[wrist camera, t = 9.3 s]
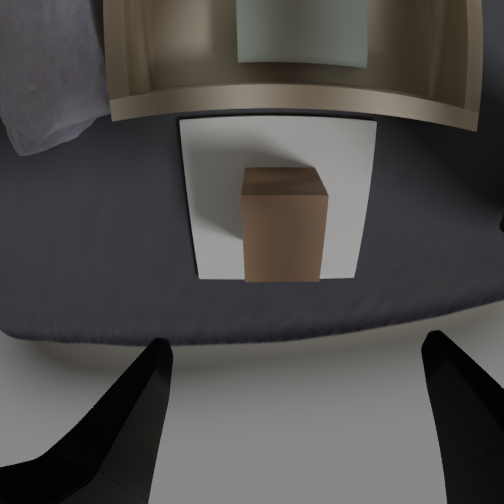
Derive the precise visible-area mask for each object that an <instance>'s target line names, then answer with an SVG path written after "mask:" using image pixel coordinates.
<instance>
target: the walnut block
mask: <svg viewBox="0 0 504 504" xmlns="http://www.w3.org/2000/svg"><path fill="white" fill-rule="evenodd" d="M328 198H329V195H328V193H327V191H326V189H325V187H324V185H323V183H322V181H321V179H320V177H319V174H318V172H317V170H316V168H296V167H256V168H245V171H244V177H243V184H242V191H241V211H242V232H243V253H244V273H245V282H315V281H319V279H320V271H321V263H322V255H323V247H324V238H325V229H326V219H327V209H328Z"/></svg>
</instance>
